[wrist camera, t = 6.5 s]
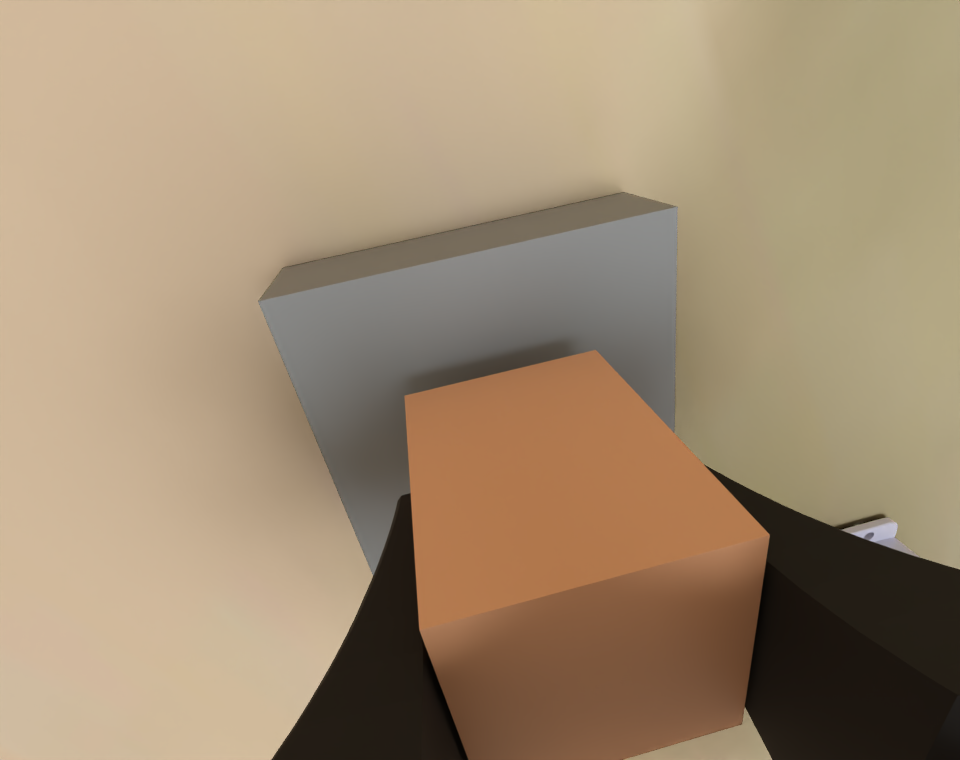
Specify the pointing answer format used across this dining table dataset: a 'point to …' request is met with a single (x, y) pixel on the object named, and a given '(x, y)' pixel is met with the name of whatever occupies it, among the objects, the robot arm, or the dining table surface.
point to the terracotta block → (576, 567)
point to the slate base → (469, 327)
